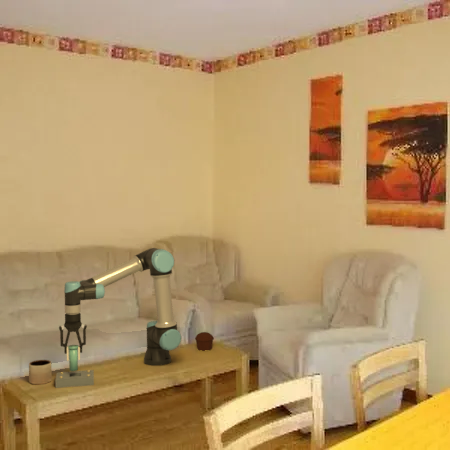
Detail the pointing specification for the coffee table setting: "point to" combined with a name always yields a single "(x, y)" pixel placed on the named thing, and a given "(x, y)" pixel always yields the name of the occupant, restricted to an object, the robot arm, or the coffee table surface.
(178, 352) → the coffee table surface
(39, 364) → the planter
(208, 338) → the muffin
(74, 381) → the grey socket block
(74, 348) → the plug
